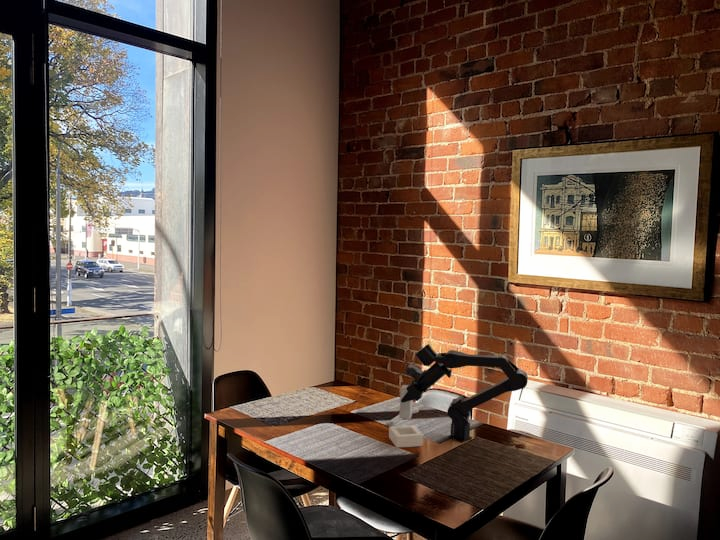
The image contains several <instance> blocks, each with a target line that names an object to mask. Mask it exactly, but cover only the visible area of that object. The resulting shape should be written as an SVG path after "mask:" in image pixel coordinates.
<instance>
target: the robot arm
mask: <svg viewBox="0 0 720 540" xmlns="http://www.w3.org/2000/svg"><path fill="white" fill-rule="evenodd" d="M414 356H415V357H416V358H417V360H418V361H419V362H420V363H421V365H423V367H425V366H426V367H428V368H427V369H424V370H421V369H420V368H418V367H417V366H415V365H414V364H412V363H411V364H410V363H409V364H408V366H407V367H406V369H405V371H404V374H405V375H406V376H408V377H410V378H412V379H413V380H412V381H411V383H410V384H408V385H409V386H408V387H407V388H406V389H407V391H408V392H407V393H406V394H405V396H404V397H403V398H402V399H401V402H402V403H403V402H407V401H411V400H413V401H414V400H415V401H416V402H419V401H420V400H421V398H423V396H424V395H423V394H424V393H426V392H427V391H428V390H429V389H430V388H431V387H433V386H434V385H435V384H436V383H437V382H438V381H439V380H440V379H442V378H443V377H444V376H445V375H446V377H448V379H450V378H451V377H452V372H453V369H458V368H459V369H460V368H464V367H482V368H483V367H484V368H485V367H486V368H500V370H502V372H503V373H504V374H505V376H506V377H505V378H503V379H502V380H501V381H499V382H497V383H495V384H493V385H491V386H489V387H488V388H485V389H483V390H481V391H480V392H479V391H478V392H477V393H475V394H473V395H471V396H469V397H464V395H463V394H461V395H460V396H459V397H457V398H453V399H452V401H451V402H450V404H449V405H448V408H447V411H446V412H447V416H448V417H449V419H451V424H450V435H448V438H450V439H452V440H455V441H457V442H460V443H464V442H466V441H469V440H471V439H473V436H470V432H471V423H470V422H469V421H470V420H469V419H470V417H471V413H469V412H470V411H471V410H473V409H475V408H477V407H479V406H481V405H482V404H485V403H488V402H489V401H491V400H493V399H495V398H497V397H499V396H501V395H504V394H505V393H509V392H516V391H518V390H521V389H525V388H526V387H527V385H528V373H527V372H526V371H525V370H523V369H521V368H519V367H518V366H517V365H516V364H515V363H513V361H511V360H510V359H508V357H507V356H505V355H489V354H487V355H486V354H470V353H465V352H462V351H460V350H459V351H458V350H453V349H450V350H448V351H447V352H439V353H438V352H436V351H435V350H434V349H433V347H432V346H431V345H430V344H429V343H427V344H426V345H424V347H421V348H420V349H419V350H418V351H417V352H416V353H414Z"/></svg>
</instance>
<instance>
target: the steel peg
mask: <svg viewBox="0 0 720 540" xmlns="http://www.w3.org/2000/svg"><path fill="white" fill-rule="evenodd" d="M409 385H410V384H402V385H401V387H400V398H399V414H400V416H399V418H402V420H411V418H412V417H413V413H412V408H413V401H414V400H411V401H407V402H403V403H402V402H401V399H402V398H403V397H404V396H405V394H406V393H407V392H408V391H407V389H406V388H407V387H408V386H409Z"/></svg>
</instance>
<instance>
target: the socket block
mask: <svg viewBox="0 0 720 540" xmlns="http://www.w3.org/2000/svg"><path fill="white" fill-rule="evenodd" d="M388 427H389V428H388V439H389V440H390V442H392V443H393V445H394V446H395V447H396V448H410V447H413V448H414V447H424V437H425V435H424V434H423V433H422V432H421V430H420V429H419V428H418V427H417V426H416V425H403V426H402V425H398V426H396V425H394V426H388Z"/></svg>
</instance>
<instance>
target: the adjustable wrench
mask: <svg viewBox="0 0 720 540" xmlns="http://www.w3.org/2000/svg"><path fill="white" fill-rule="evenodd" d="M419 410H420V407H418V406H415V407H414V408H413V407H412V414H415V413H419ZM399 416H400V413H399V414H398V415H396V416H395V417H393V418H391V419H390V420H389V421H387V426H388V427H395V426H396V425H397V424H399V422H401V421H402V420H403V419H402V418H399Z"/></svg>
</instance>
